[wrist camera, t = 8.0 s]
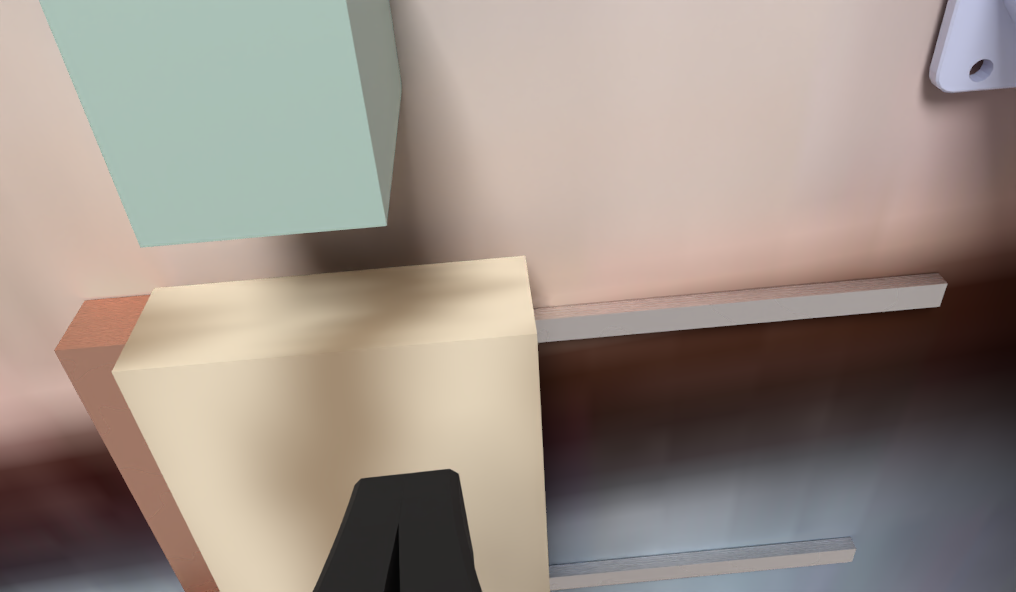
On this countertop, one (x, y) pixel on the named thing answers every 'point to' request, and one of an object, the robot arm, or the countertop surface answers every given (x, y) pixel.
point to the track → (111, 322)
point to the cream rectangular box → (343, 411)
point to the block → (238, 111)
